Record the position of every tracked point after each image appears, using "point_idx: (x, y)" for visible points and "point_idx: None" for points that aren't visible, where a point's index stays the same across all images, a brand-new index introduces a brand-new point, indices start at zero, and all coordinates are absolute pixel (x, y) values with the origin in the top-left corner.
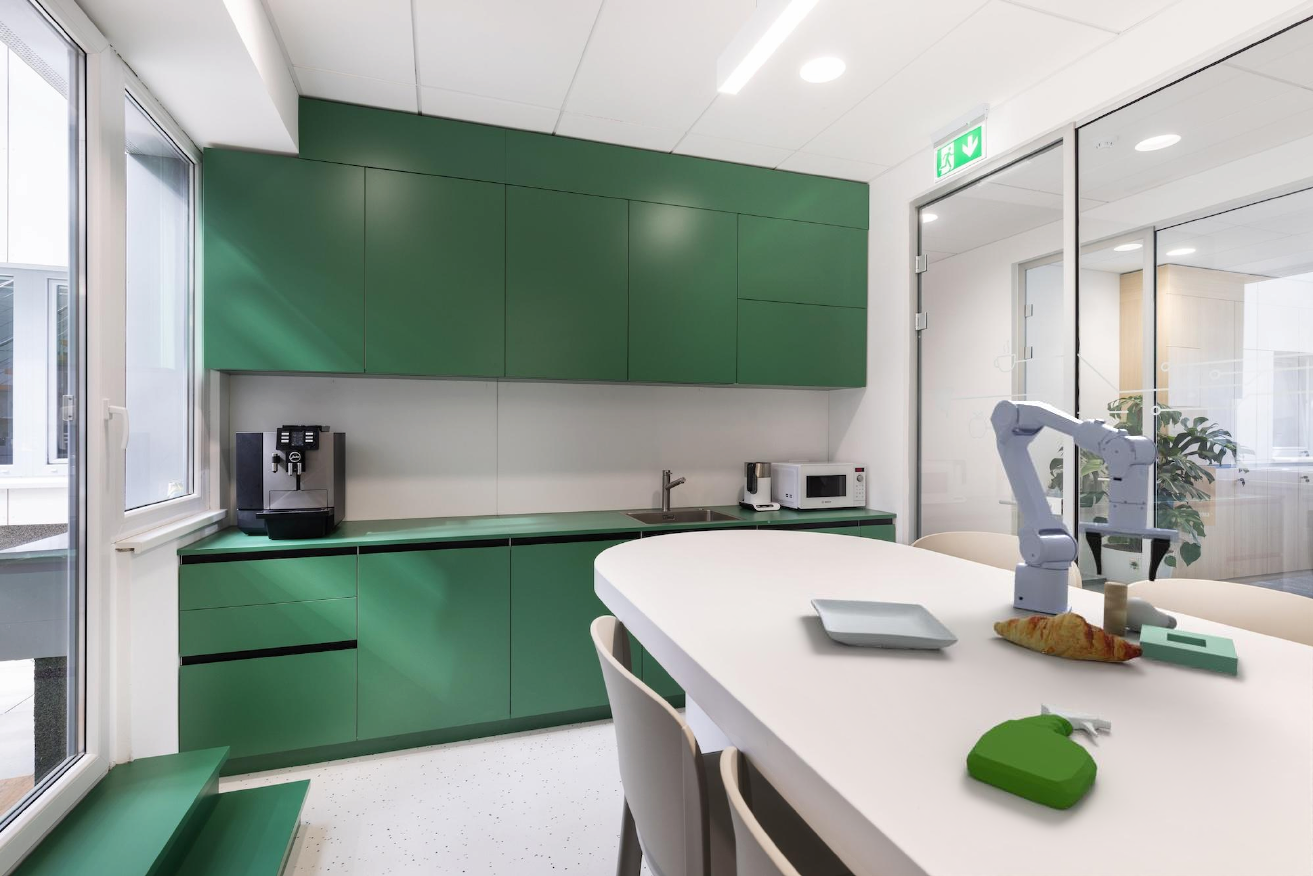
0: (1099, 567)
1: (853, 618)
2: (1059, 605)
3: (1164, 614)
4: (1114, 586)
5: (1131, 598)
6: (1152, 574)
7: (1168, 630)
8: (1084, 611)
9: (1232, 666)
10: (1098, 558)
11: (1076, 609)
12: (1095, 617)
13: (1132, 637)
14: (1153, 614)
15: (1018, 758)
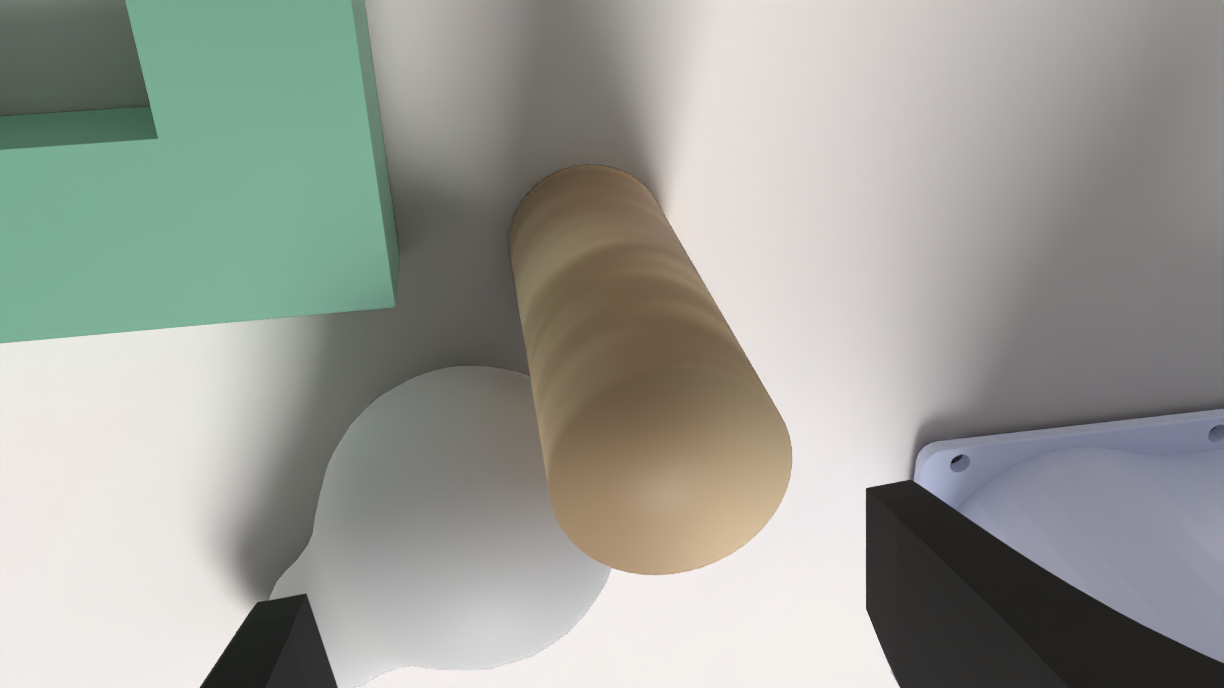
0: (943, 528)
1: None
2: (995, 517)
3: None
4: (680, 360)
5: (520, 581)
6: (250, 658)
7: (175, 253)
8: (811, 671)
9: None
10: (1039, 611)
11: (858, 680)
12: (740, 581)
13: (460, 229)
14: (333, 488)
15: None
